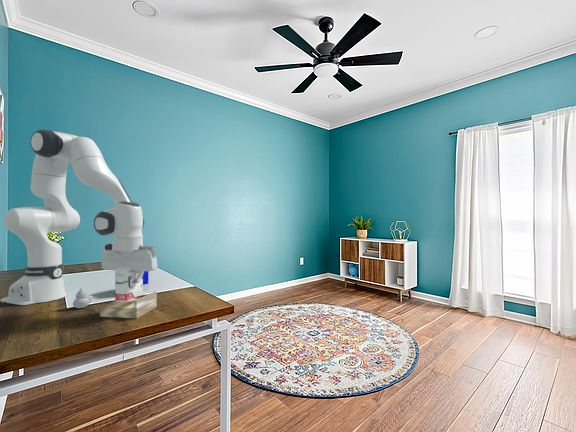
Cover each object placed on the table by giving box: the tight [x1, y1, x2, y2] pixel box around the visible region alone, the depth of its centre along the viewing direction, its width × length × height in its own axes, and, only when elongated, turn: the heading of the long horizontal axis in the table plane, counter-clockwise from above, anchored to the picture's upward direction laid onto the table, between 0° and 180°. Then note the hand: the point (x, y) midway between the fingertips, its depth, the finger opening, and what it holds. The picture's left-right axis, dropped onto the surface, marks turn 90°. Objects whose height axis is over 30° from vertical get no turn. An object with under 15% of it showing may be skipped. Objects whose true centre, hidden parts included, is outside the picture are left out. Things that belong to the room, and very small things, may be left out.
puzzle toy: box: [114, 271, 149, 293], centre depth 131 cm, size 10×10×10 cm
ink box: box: [114, 267, 144, 301], centre depth 104 cm, size 9×5×12 cm, turn 169°
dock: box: [99, 291, 158, 319], centre depth 104 cm, size 14×12×6 cm
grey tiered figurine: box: [72, 287, 93, 309], centre depth 109 cm, size 5×7×8 cm
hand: (129, 282), depth 104 cm, fingers closed on ink box, 5 cm apart
